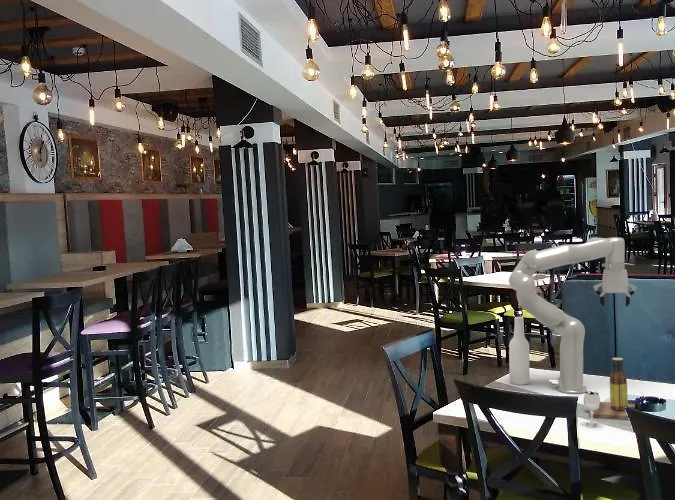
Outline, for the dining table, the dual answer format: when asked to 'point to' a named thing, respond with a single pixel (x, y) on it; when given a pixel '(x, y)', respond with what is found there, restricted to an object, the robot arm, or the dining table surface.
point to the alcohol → (519, 355)
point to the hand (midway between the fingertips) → (614, 305)
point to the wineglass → (591, 404)
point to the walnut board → (609, 412)
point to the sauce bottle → (618, 386)
